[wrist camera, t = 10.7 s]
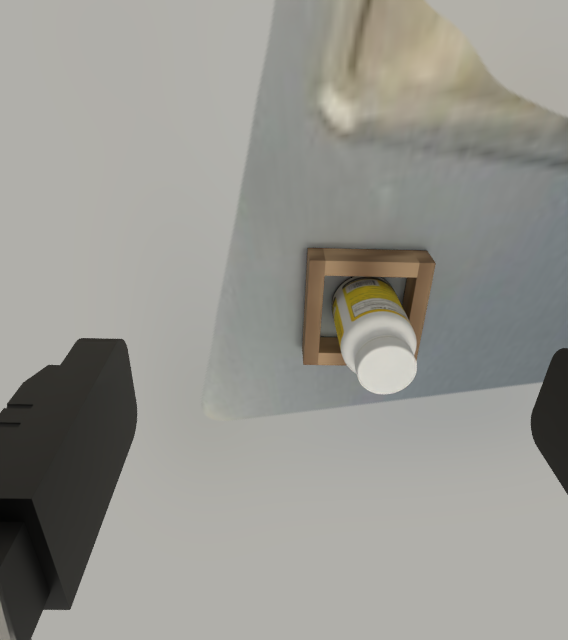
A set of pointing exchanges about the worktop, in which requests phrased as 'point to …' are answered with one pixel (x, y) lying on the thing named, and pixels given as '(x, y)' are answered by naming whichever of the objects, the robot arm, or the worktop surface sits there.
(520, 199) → the worktop surface
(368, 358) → the supplement bottle
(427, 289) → the wooden frame
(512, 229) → the worktop surface
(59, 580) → the robot arm
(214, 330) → the worktop surface
